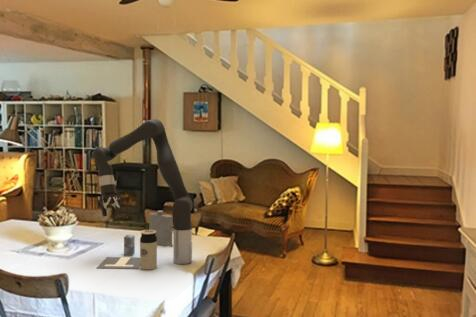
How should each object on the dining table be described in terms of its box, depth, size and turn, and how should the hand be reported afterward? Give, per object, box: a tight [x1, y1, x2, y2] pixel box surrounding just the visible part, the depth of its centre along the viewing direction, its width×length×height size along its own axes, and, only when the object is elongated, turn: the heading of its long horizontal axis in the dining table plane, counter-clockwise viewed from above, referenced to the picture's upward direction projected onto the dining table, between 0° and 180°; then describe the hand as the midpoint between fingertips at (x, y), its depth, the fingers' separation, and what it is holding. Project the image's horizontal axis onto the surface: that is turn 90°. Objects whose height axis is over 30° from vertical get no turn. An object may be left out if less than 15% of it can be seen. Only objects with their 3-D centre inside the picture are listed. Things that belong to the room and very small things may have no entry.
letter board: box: [96, 256, 140, 270], centre depth 216 cm, size 20×17×1 cm
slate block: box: [123, 234, 136, 257], centre depth 230 cm, size 4×4×10 cm
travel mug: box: [139, 229, 158, 271], centre depth 209 cm, size 8×8×18 cm
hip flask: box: [148, 210, 173, 247], centre depth 250 cm, size 16×4×20 cm, turn 61°
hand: (111, 216), depth 219 cm, fingers open, 8 cm apart
